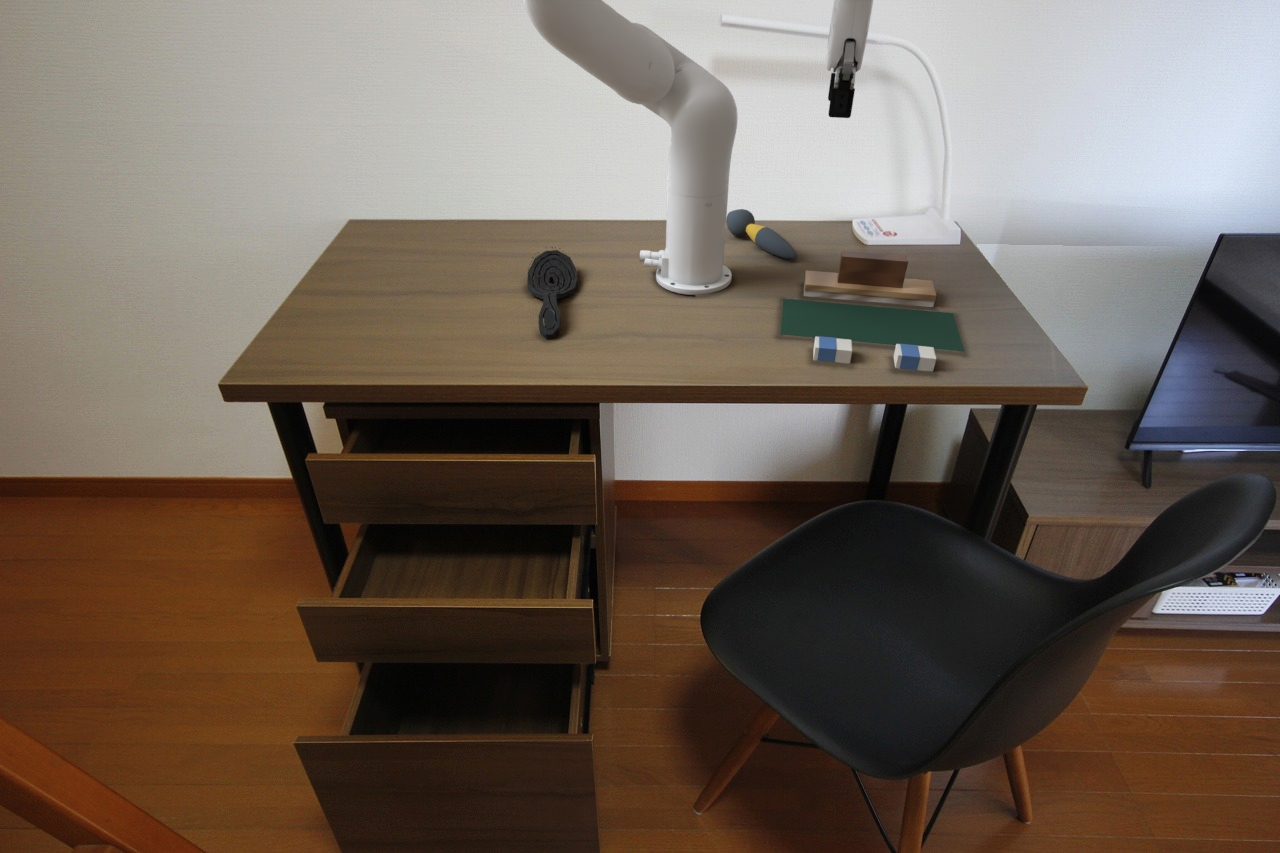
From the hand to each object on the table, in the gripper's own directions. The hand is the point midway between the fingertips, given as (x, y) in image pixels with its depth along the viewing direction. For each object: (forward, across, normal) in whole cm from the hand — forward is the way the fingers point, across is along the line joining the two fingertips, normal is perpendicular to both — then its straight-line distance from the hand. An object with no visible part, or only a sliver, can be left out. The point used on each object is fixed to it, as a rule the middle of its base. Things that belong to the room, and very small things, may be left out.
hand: (838, 108), depth 118 cm
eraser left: (+26, +30, +2) cm, 40 cm away
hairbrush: (+26, +20, -41) cm, 53 cm away
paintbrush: (+26, -9, -10) cm, 30 cm away
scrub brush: (+26, +9, +8) cm, 29 cm away
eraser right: (+26, +30, +13) cm, 42 cm away
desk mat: (+26, +19, +8) cm, 33 cm away
